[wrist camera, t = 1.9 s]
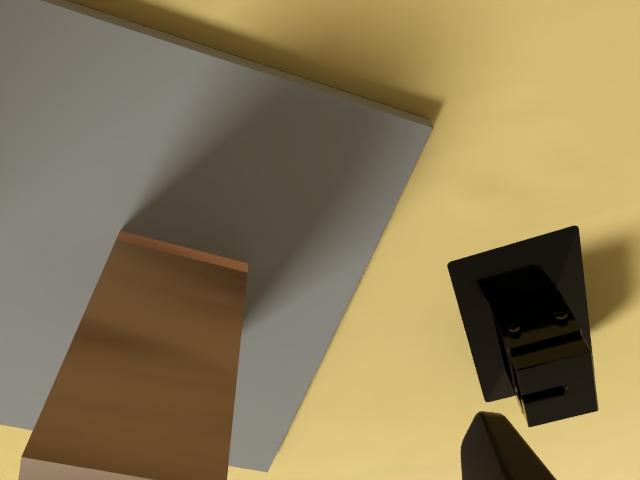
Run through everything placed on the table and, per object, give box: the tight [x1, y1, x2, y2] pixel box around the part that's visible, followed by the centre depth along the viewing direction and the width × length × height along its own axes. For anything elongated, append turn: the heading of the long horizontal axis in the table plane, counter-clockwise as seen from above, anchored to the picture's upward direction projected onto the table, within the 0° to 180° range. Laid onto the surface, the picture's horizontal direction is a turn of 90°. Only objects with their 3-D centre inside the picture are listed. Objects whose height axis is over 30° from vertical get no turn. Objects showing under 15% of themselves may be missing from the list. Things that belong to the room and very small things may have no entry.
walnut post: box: [19, 231, 249, 480], centre depth 20 cm, size 5×5×10 cm
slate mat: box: [0, 0, 433, 472], centre depth 24 cm, size 20×22×1 cm
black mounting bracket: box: [447, 226, 598, 427], centre depth 26 cm, size 12×7×5 cm, turn 18°
